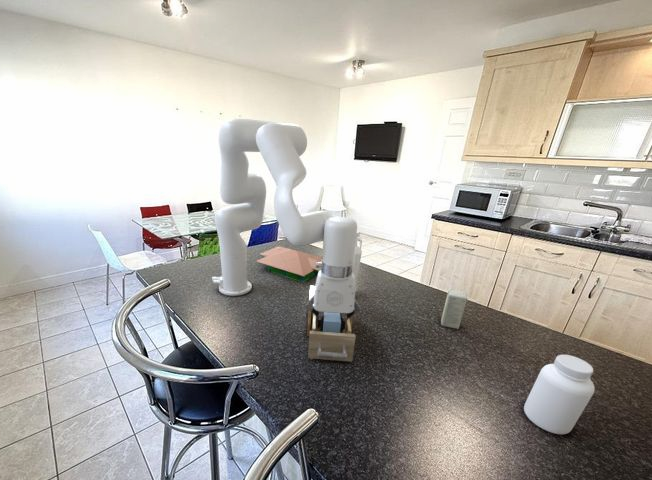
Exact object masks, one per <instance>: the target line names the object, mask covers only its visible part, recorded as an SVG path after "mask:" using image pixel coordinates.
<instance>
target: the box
mask: <svg viewBox="0 0 652 480" xmlns="http://www.w3.org/2000/svg"><path fill="white" fill-rule="evenodd" d="M467 301H468V294H467V292H465V291H459V290H453V289H448V290H447V293H446V298H445V303H444V305H443V310H442V313H441V318H440V325H441V326H443V327H446V328H452V329H457V330H459V329H460V326H461V323H462V318H463V316H464V312H465V308H466V305H467Z"/></svg>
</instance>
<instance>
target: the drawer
mask: <svg viewBox="0 0 652 480" xmlns="http://www.w3.org/2000/svg"><path fill="white" fill-rule="evenodd" d="M327 313H330V312H327ZM341 315H342V313H340V316H341ZM308 337H309V338H308V352H307V358H308V359H313V360H328V361H337V362H338V361H339V362H351V363H352V362H353V359H354V351H355V345H356V338H357V337H356V334H355V333H352V329H351V325H350V319H349V318H348V319H347V321H346V324H345V330H342V333H333V332H320V328H318V318H317V316H316V315H315V314H314V313H313V318H312V331H310V335H309V336H308Z"/></svg>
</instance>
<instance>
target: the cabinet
mask: <svg viewBox="0 0 652 480" xmlns="http://www.w3.org/2000/svg"><path fill="white" fill-rule="evenodd" d="M314 293H315V285H309V297H308V301H309V300H310V299H311V298H312V296H313V295H314ZM313 305H314V304H313ZM307 310H308V313H307V329H306V330H307V331H306V337H309V335H310V331H312V318H313V312H312V311H310V310H309V309H307ZM349 319H350V325H351V330H352V327H353V321H354V315H353V316H351V317H350V318H349Z"/></svg>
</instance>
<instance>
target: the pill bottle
mask: <svg viewBox="0 0 652 480" xmlns="http://www.w3.org/2000/svg"><path fill="white" fill-rule="evenodd" d="M593 373H594V368H593V366H592V365H591V364H590V363H589V362H587V361H585V360H583V359H581V358H580V357H577V356H574V355H569V354H558V355H556V357H555V360H554V362H553V363H548V364H546V365H543V367H542V368H541V369H540V371H539V373H538V375H537V378H536V379H535V381H534V384H533V385H532V388H531V390H530V392H529V394H528V396H527V398H526V401H525V403H524V406H523V411H524V414H525V416H526V417H527V418H528V420H529V421H531V422H532V423H533V424H534V425H535V426H537V427H538V428H541V429H542V430H544V431H546V432H548V433H551V434H556V435H566V434H569V433H570V432H571V431H572V430H573V429H574V427H575V425H576V424H577V422H578V420H579V418H580V417H581V416H582V414H583V412H584V410H585V409H586V407H587V406H588V404H589V402H590V400H591V399H592V396H593V395H594V394H595V384H594V382H593V380H591V377H592V376H593Z"/></svg>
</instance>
